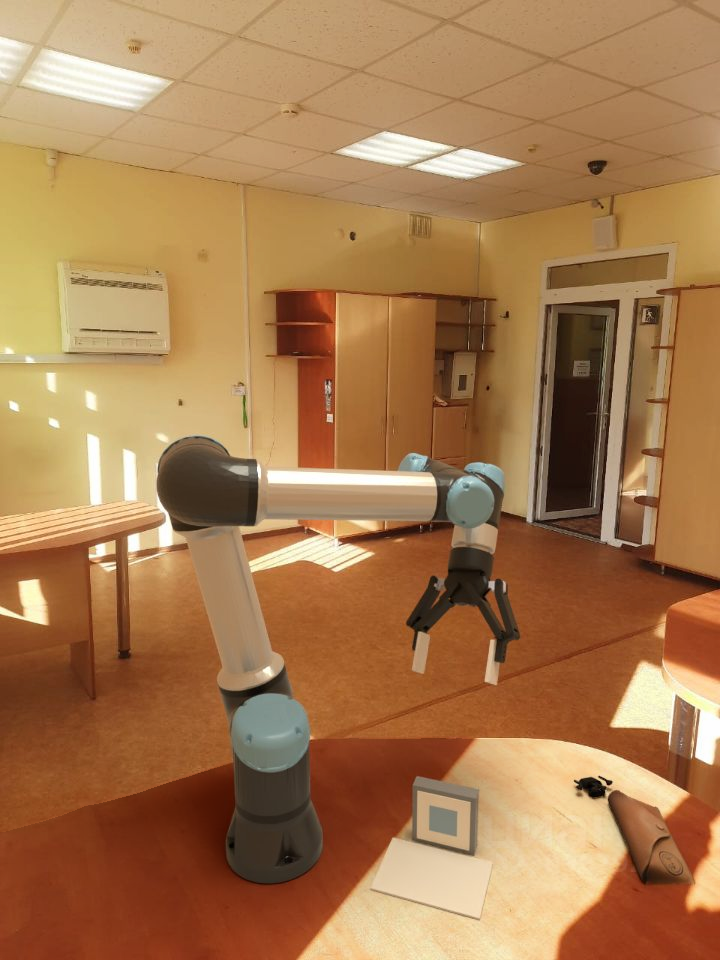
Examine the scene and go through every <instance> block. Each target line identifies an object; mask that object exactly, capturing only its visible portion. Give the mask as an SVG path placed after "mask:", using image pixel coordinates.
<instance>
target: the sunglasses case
mask: <svg viewBox="0 0 720 960" xmlns="http://www.w3.org/2000/svg"><path fill="white" fill-rule="evenodd" d="M607 803H608V805H609V808H610V811H611V813H612V814H613V816H614V819H615V820H616V821H615V822H616V824H617V826H618V828H619V830H620V833H621V835H622V837H623V839H624V841H625V844H626V846H627V849H628V850H629V853H630V855H631V858H632V860H633V863H634V865H635V868H636V870H637V872H638V875H639V877H640V879H641V880H642V881H643V882H644V884H645V885H683V884H682V883H686V884H685V885H691V884H690V883H694V884H693V885H696V881H695V877H694V876H693V874H692V872H691V870H690V868H689V866H688V864H687V862H686V860H685V858H684V857H683V855H682V853H681V851H680V850H679V846H678V845H677V844H676V843H677V842H675V840H674V838H673V836H672V834H671V832H670V830H669V828H668V826H667V824H666V821H665V819H664V817H663V815H662V814H661V811H660V809H659V807H658V806H655V807H654V806H653V805H652V804H648V803H646V802H644V801H641V800H639V799H636V798H634V797H631V796H628V795H627V794H626V793H624V792H622V791H621V790H618V789H614V790H612V791H611V792H610V793H609V794H608V796H607ZM673 883H675V884H673ZM680 883H681V884H680ZM687 883H689V884H687Z"/></svg>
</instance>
